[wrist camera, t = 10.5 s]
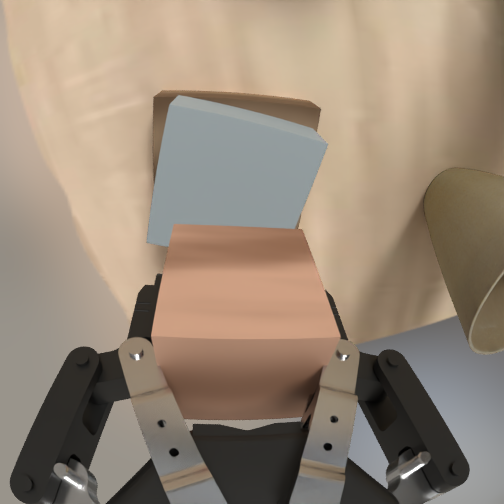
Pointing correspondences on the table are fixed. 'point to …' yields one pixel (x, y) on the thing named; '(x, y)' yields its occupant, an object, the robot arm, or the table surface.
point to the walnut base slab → (263, 104)
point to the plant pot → (471, 250)
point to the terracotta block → (241, 322)
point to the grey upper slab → (231, 169)
